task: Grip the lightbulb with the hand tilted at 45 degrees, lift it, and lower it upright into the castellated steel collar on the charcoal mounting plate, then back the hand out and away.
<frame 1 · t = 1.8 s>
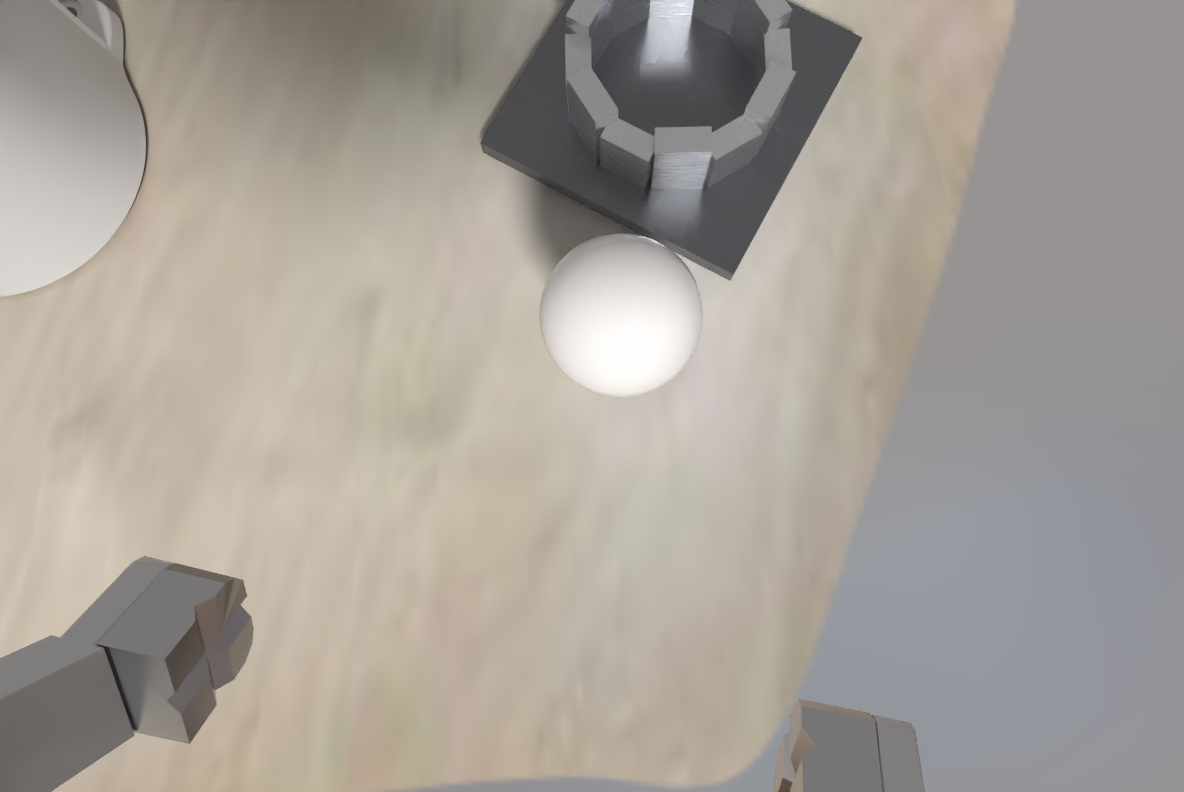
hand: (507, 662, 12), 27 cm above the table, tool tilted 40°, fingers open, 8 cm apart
lightbulb: (617, 357, 40), on the table
lamp socket: (671, 100, 42), on the table
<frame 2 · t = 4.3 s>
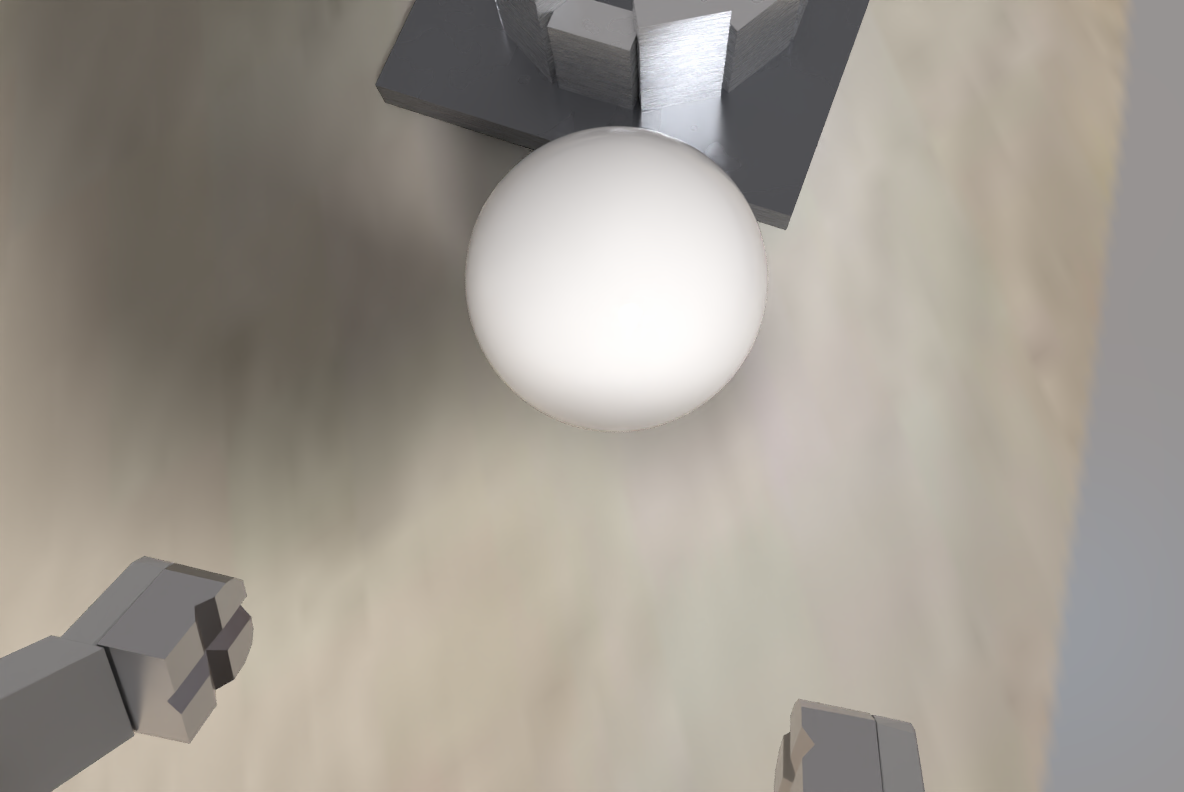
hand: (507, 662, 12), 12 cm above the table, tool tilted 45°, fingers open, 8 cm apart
lightbulb: (628, 374, 26), on the table
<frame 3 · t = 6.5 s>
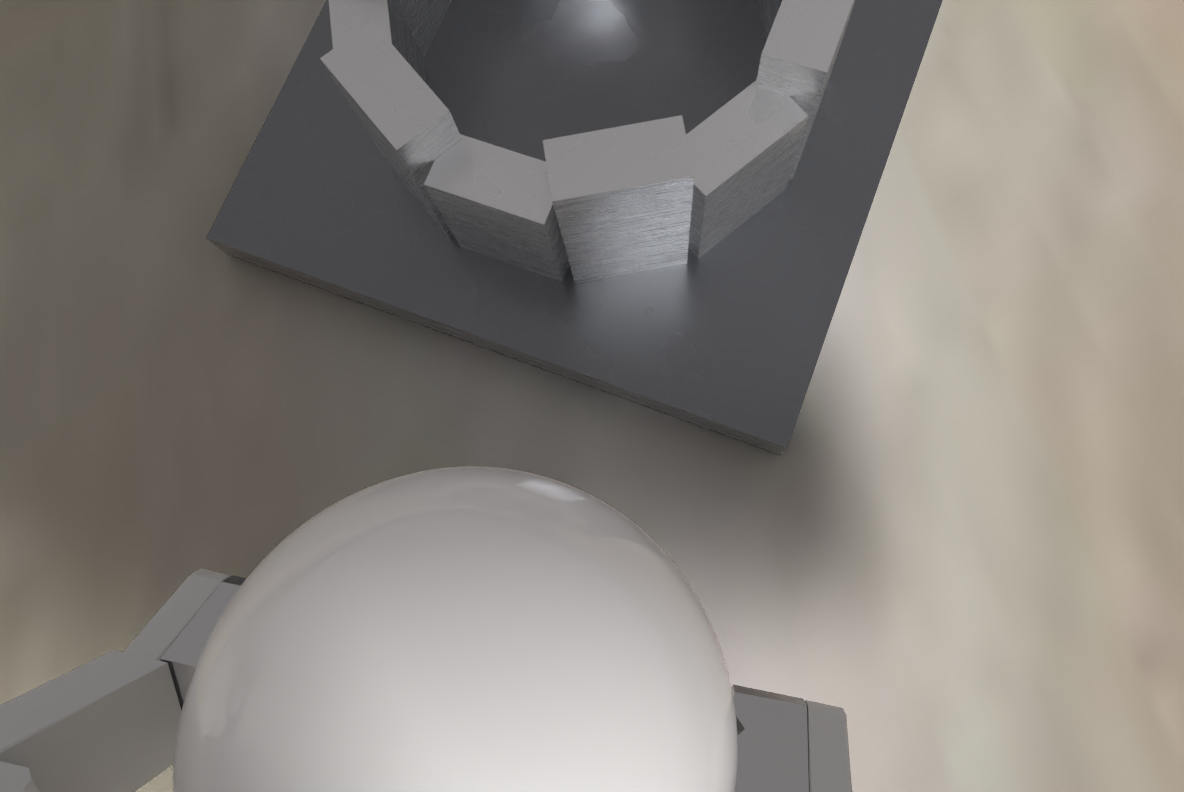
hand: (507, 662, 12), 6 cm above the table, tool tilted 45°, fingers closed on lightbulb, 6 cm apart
lightbulb: (552, 668, 18), on the table, touching gripper
lamp socket: (598, 92, 21), on the table
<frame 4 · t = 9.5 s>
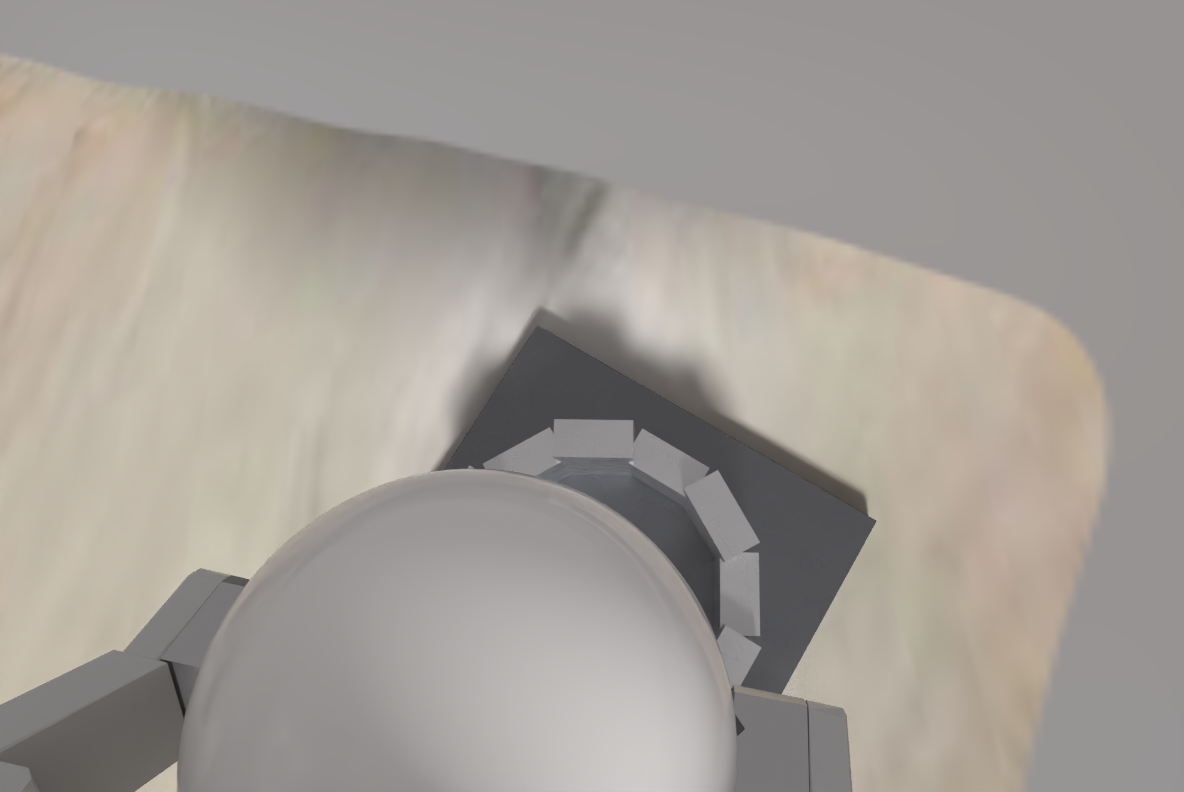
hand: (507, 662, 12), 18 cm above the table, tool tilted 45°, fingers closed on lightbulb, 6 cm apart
lightbulb: (557, 668, 18), point 12 cm above the table, touching gripper
lamp socket: (600, 588, 30), on the table
when the fingers open (8 cm above the table, at t = 12.6 s): lightbulb drops 1 cm, resting on lamp socket.
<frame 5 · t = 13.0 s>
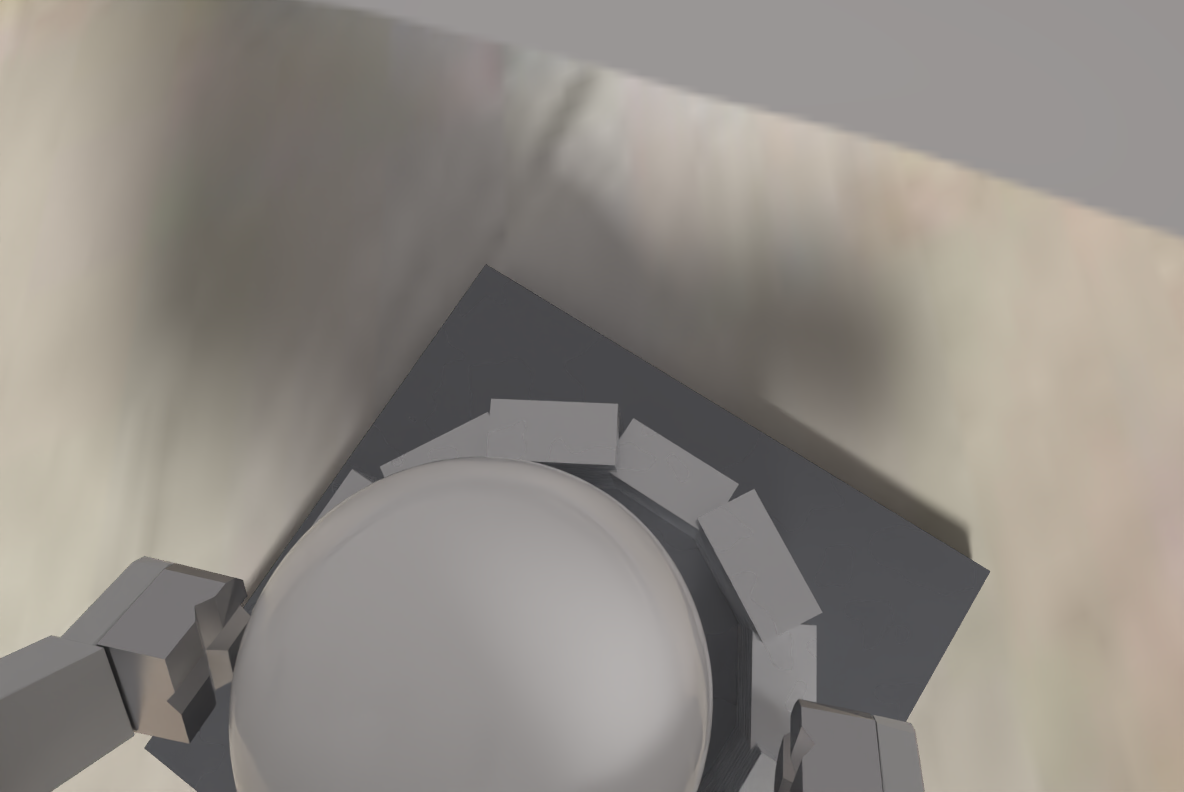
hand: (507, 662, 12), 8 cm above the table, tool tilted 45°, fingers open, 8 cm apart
lightbulb: (555, 654, 19), point 1 cm above the table, touching lamp socket
lamp socket: (565, 657, 20), on the table
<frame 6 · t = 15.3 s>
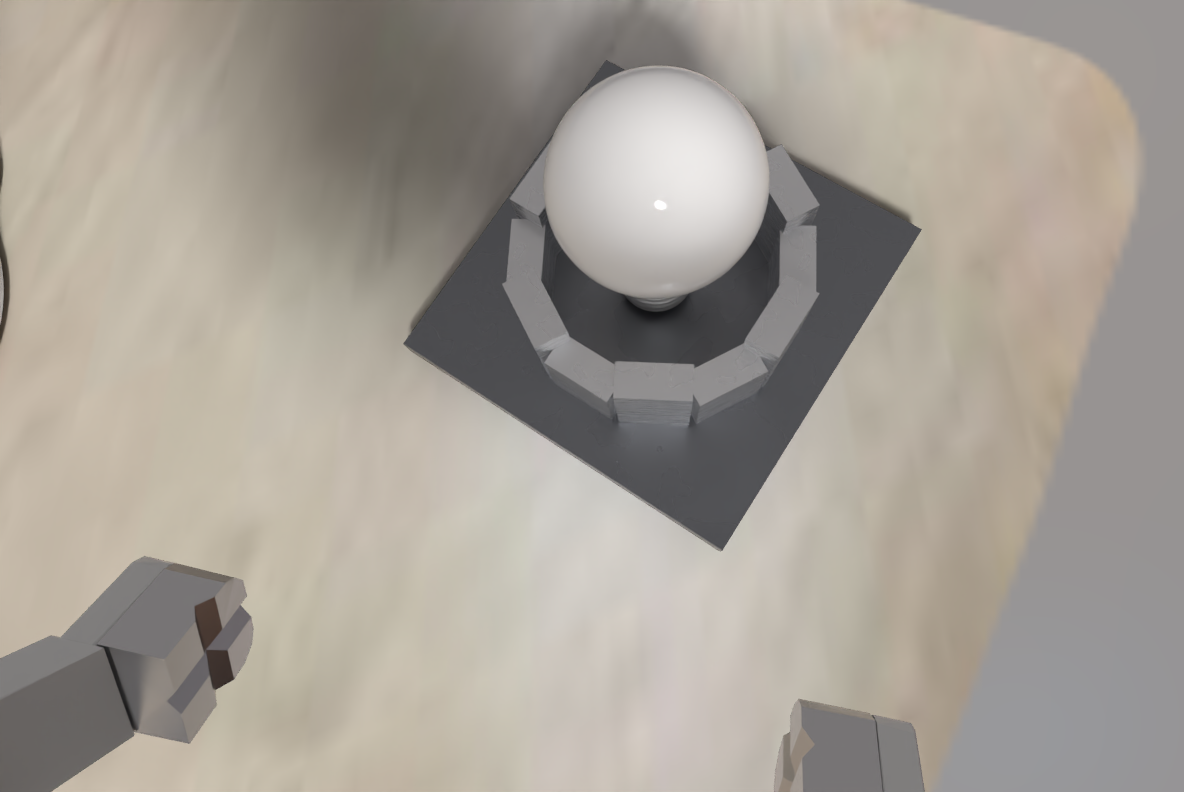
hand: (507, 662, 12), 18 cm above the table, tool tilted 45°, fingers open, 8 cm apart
lightbulb: (656, 285, 31), point 1 cm above the table, touching lamp socket
lamp socket: (659, 296, 32), on the table
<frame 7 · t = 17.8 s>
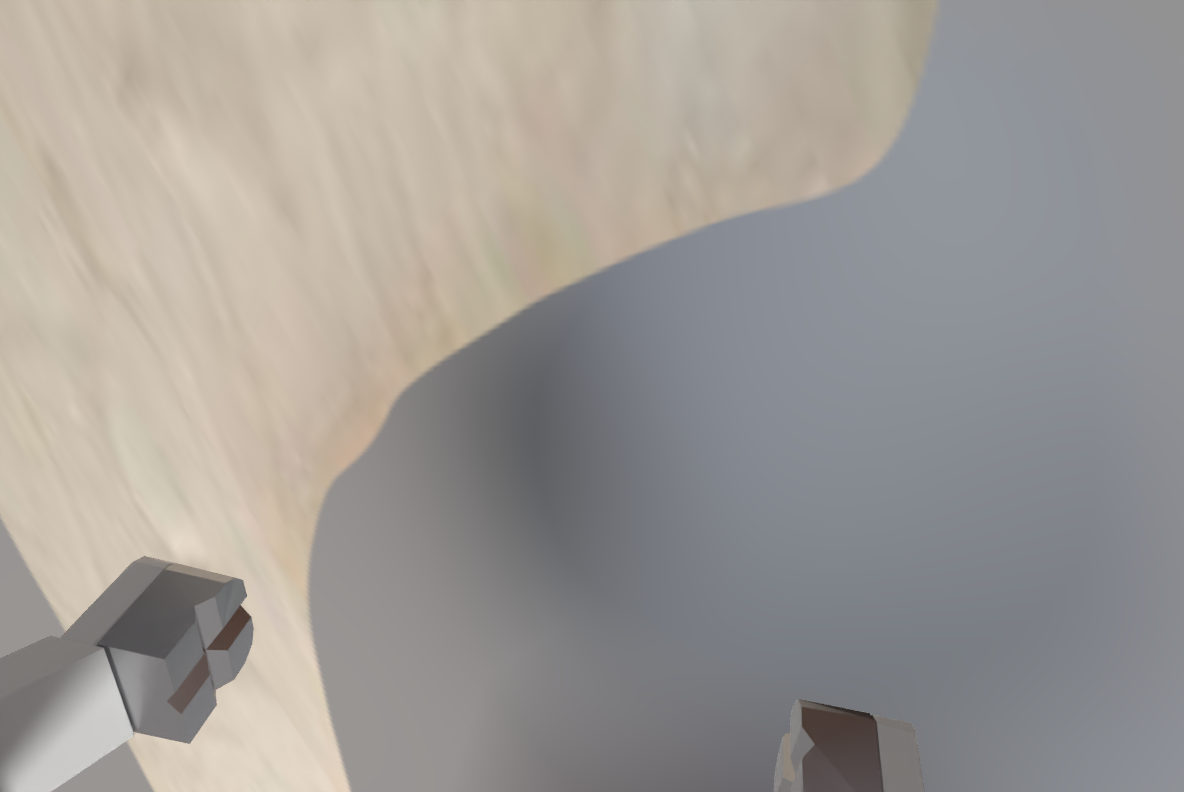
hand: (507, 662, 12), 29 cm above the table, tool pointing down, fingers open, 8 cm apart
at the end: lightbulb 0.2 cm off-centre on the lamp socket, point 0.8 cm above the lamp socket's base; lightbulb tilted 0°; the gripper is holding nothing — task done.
